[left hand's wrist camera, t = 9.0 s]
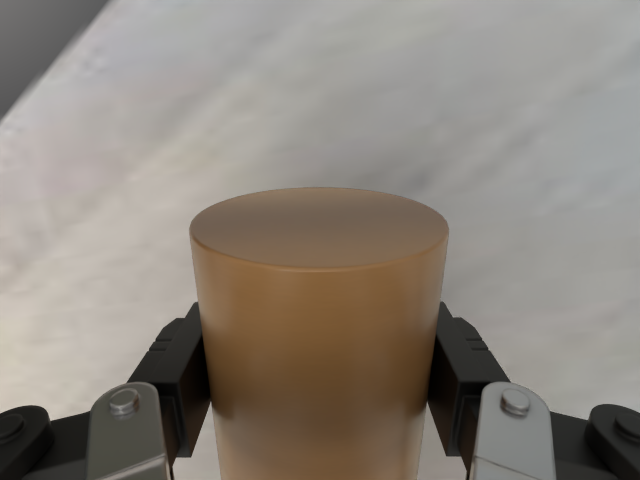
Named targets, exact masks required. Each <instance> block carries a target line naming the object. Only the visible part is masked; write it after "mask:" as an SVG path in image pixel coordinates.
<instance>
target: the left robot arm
mask: <svg viewBox="0 0 640 480" xmlns="http://www.w3.org/2000/svg"><path fill="white" fill-rule="evenodd" d="M210 402H211V396H210V388H209V380H208V373H207V365H206V357H205V350H204V342H203V334H202V326H201V319H200V311H199V303H198V302H195V303H194V304H193V305H192V307H191V309H190V310H189V312H188V314H187V315H186V317H185V318H176V319H175V320H173V321H172V322H171V323H169V324H168V325H166V326H165V327H164V328H163V329H162V330H161V332H160V333H159V335H158V336H157V338H156V341H155V342H153V344H152V345H151V347H150V348H149V351H147V353H146V354H145V356H144V357H143V359H142V360H141V362H140V363H139V365H138V366H137V368H136V369H135V371H134V372H133V374H132V375H131V377H130V378H129V380H128V381H127V383H126V384H123V385H120V386H117V387H115V388H113V389H111V390H109V391H108V392H106V393H105V394H103V395H102V396H101V397H100V398H99V399H98V400H97V401H96V402H95V403H94V405H93V406H92V408H91V411H89V412H86V413H82V414H78V415H74V416H70V417H65V418H61V419H57V420H53V421H50V418H49V415H48V413H47V411H46V410H45V409H44V408H42V407H40V406H33V405H29V406H22V407H17V408H14V409H10V410H8V411H5V412H3V413H1V414H0V480H175V478H174V472H173V467H172V466H173V464H174V461H175V459H176V457H191V456H192V453H193V450H194V447H195V445H196V442H197V439H198V436H199V433H200V430H201V428H202V425H203V422H204V419H205V416H206V413H207V411H208V408H209V405H210ZM427 402H428V405H429V408H430V411H431V414H432V416H433V419H434V422H435V425H436V428H437V431H438V434H439V437H440V439H441V442H442V445H443V448H444V451H445V454H446V456H461V457H462V460H463V462H464V465H465V468H466V470H467V472H466V478H465V480H640V413H639V412H636V411H634V410H632V409H629V408H626V407H623V406H618V405H612V404H602V405H598V406H596V407H594V408H593V409H592V411H591V413H590V416H589V419H588V420H584V419H580V418H575V417H571V416H567V415H563V414H559V413H555V412H551V411H549V408H548V406H547V405H546V403H545V402H544V401H543V400H542V399H541V398H540V397H539V396H538V395H537V394H535V393H534V392H532V391H531V390H529V389H527V388H525V387H523V386H520V385H517V384H514V383H511V382H510V380H509V379H508V377H507V376H506V374H505V373H504V371H503V370H502V368H501V367H500V365H499V364H498V362H497V361H496V359H495V358H494V356H493V355H492V353H491V352H490V351H489V350H488V347H487V346H486V344H485V343H484V341H482V338H481V336H480V335H479V333H478V332H477V330H476V329H475V327H473V326H472V325H471V324H469V323H468V322H467V321H465V320H464V319H462V318H453V317H452V315H451V314H450V312H449V310H448V309H447V307H446V305H445V304H444V302H440V305H439V313H438V320H437V328H436V336H435V343H434V351H433V359H432V366H431V374H430V381H429V389H428V397H427Z"/></svg>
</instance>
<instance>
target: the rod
mask: <svg viewBox="0 0 640 480" xmlns="http://www.w3.org/2000/svg"><path fill="white" fill-rule="evenodd" d="M189 234H190V242H191V250H192V257H193V265H194V273H195V280H196V288H197V296H198V303H199V311H200V319H201V326H202V334H203V342H204V350H205V357H206V365H207V373H208V380H209V388H210V396H211V403H212V411H213V419H214V426H215V434H216V442H217V449H218V457H219V465H220V472H221V480H417V473H418V465H419V458H420V450H421V442H422V435H423V427H424V420H425V412H426V404H427V397H428V389H429V381H430V374H431V366H432V359H433V351H434V343H435V336H436V328H437V320H438V313H439V305H440V298H441V290H442V282H443V275H444V267H445V259H446V252H447V244H448V237H449V227H448V224H447V222H446V220H445V219H444V218H443V216H442V215H440V214H439V213H438V212H437V211H435V210H433V209H432V208H430V207H428V206H426V205H423V204H421V203H419V202H416V201H413V200H410V199H407V198H403V197H400V196H396V195H391V194H386V193H381V192H375V191H368V190H359V189H348V188H326V187H312V188H290V189H279V190H270V191H263V192H257V193H252V194H247V195H242V196H238V197H235V198H231V199H228V200H225V201H222V202H219V203H217V204H215V205H212V206H210V207H208V208H206V209H205V210H203V211H201V212H200V213H199V214H198V215H197V216H196V217H195V218H194V219H193V220H192V222H191V225H190V228H189Z"/></svg>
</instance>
